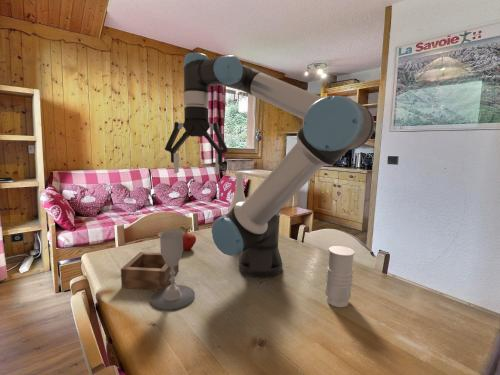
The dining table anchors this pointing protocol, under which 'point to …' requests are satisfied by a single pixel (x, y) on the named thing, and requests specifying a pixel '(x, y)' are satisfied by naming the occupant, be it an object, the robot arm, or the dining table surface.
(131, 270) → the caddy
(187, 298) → the coaster
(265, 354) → the dining table surface
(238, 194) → the wine bottle
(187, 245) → the apple
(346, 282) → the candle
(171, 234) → the chalice
